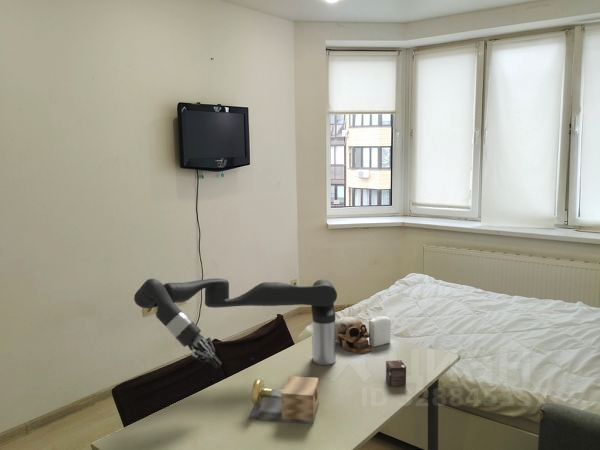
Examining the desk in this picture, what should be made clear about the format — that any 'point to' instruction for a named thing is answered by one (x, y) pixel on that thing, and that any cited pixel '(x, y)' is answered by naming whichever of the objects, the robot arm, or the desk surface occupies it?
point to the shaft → (263, 392)
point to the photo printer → (379, 331)
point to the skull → (352, 335)
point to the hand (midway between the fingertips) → (219, 366)
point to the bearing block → (291, 402)
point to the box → (396, 373)
